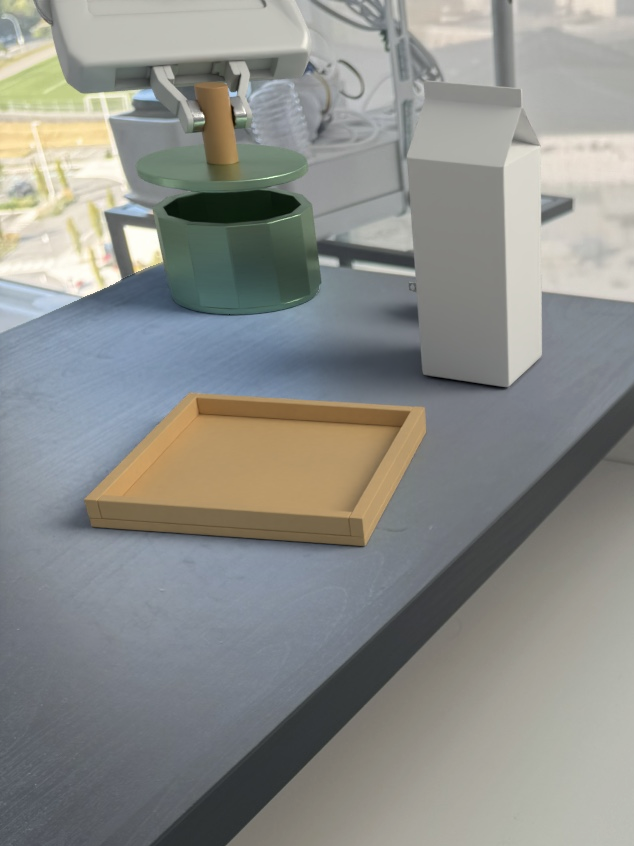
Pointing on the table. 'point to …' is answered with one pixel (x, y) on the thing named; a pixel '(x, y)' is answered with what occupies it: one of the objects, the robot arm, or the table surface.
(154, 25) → the robot arm
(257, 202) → the tin
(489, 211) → the milk carton
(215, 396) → the tray
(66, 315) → the table surface
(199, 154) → the lid
